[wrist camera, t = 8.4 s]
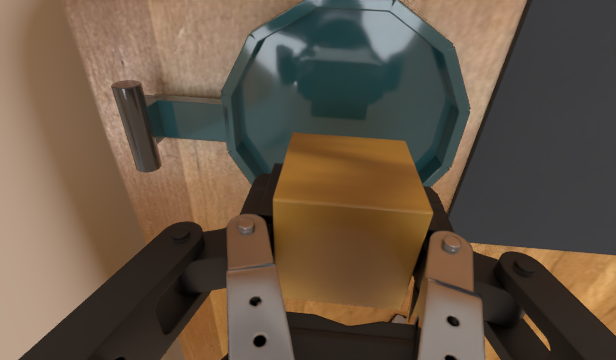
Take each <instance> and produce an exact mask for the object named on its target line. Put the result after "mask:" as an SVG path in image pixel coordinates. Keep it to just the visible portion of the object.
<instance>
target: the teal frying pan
mask: <svg viewBox="0 0 616 360" xmlns="http://www.w3.org/2000/svg"><path fill="white" fill-rule="evenodd" d="M111 87H112V91H113V94H114V97H115V100H116V103H117V107H118V110H119V113H120V116H121V120H122V123H123V126H124V129H125V133H126V136H127V139H128V142H129V145H130V149H131V152H132V155H133V158H134V162H135V165H136V168H137V170H138V171H140V172H152V171H155V170H158V169H159V168H160V167H161V166H162V162H161V158H160V154H159V150H158V146H157V144H158V143H159V142H161V141H162V140H163V139H164V138H165V137H168V138H181V139H194V140H208V141H221V142H226V144H227V150H228V153H229V155H230V156H231V157H232V159H233V160H234V161H235V163H236V164H237V166H238V167H239V168H240V170H241V171H242V172H243V174H244V175H245V177H246V178H247V179H248V181H249V182H250V184H251V185H252V184H253V181H254V179H255V178H256V177H257V176H259V175H260V174H261V173H271V172H272V169H273V166H274V163H284V159H285V156H286V153H287V149H288V146H289V143H290V139H291V136H292V133H294V132H295V133H309V134H322V135H335V136H348V137H362V138H375V139H388V140H401V141H405V142H406V144H407V147H408V149H409V152H410V154H411V157H412V159H413V162H414V164H415V167H416V170H417V172H418V175H419V177H420V180H421V182H422V185H423V186H427V187H431V186H432V185H433V184H434V183H435V182H437V181H438V180H439V179H440V178H441V177H442V176H443V175H444V174H445V173H446V172H447V171H449V168H451V166H452V163H453V160H454V158H455V155H456V152H457V149H458V146H459V143H460V140H461V137H462V135H463V132H464V129H465V126H466V123H467V120H468V117H469V114H470V111H469V110H470V109H471V108H470V104H469V100H468V97H467V93H466V89H465V85H464V81H463V77H462V73H461V69H460V65H459V61H458V58H457V54H456V50H455V47H454V46H453V43H451V42H450V41H449V40H448V39H446V38H445V37H444V36H443V35H441V34H440V33H439V32H438V31H437V30H435V29H434V28H433V27H432V26H430V25H429V24H428V23H427V22H425V21H424V20H423V19H422V18H420V17H419V16H418V15H417V14H415V13H414V12H413V11H412V10H411V9H409V8H408V7H407V6H406V5H404V4H403V3H402V2H401V1H399V0H302V1H300V2H299V3H297V4H295V5H294V6H292V7H291V8H289V9H287V10H286V11H284V12H282V13H281V14H279V15H277V16H276V17H274V18H272V19H271V20H269V21H267V22H266V23H264V24H262V25H261V26H259V27H257V28H256V29H254V30H253V31H252V32H251V33H250V34H249V35H248V37H247V39H246V41H245V43H244V45H243V47H242V49H241V51H240V54H239V56H238V58H237V60H236V62H235V64H234V66H233V68H232V70H231V72H230V74H229V76H228V79H227V81H226V83H225V85H224V87H223V89H222V91H221V93H222V94H221V99H215V98H201V97H186V96H172V95H157V94H155V95H154V96H153V95H144V91H143V87H142V84H141V82H139V81H133V80H127V81H120V82H116V83H114V84H112V86H111Z"/></svg>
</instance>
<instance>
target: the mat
mask: <svg viewBox="0 0 616 360" xmlns="http://www.w3.org/2000/svg"><path fill="white" fill-rule="evenodd" d="M447 216H448V219H449V221H450V223H451V225H452V227H453V230H454V232H455V233H456V234H458V235H460V236H462V237H463V238H465V239H466V240H467V241H468V242H469V243H480V244H492V245H503V246H515V247H527V248H538V249H550V250H561V251H573V252H584V253H596V254H607V255H616V0H528V2H527V5H526V8H525V10H524V13H523V16H522V18H521V21H520V23H519V26H518V29H517V31H516V34H515V37H514V39H513V42H512V45H511V47H510V50H509V53H508V55H507V58H506V61H505V63H504V66H503V68H502V71H501V74H500V76H499V79H498V82H497V84H496V87H495V90H494V92H493V95H492V98H491V100H490V103H489V106H488V108H487V111H486V113H485V116H484V119H483V121H482V124H481V127H480V129H479V132H478V135H477V137H476V140H475V143H474V145H473V148H472V151H471V153H470V156H469V158H468V161H467V164H466V166H465V169H464V172H463V174H462V177H461V180H460V182H459V185H458V188H457V190H456V193H455V196H454V198H453V201H452V203H451V206H450V209H449V211H448V214H447Z"/></svg>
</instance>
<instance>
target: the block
mask: <svg viewBox="0 0 616 360" xmlns="http://www.w3.org/2000/svg"><path fill="white" fill-rule="evenodd" d="M432 216H433V210H432V208H431V205H430V202H429V200H428V197H427V195H426V192H425V190H424V187H423V185H422V182H421V180H420V177H419V175H418V172H417V170H416V167H415V164H414V162H413V159H412V157H411V154H410V152H409V149H408V147H407V144H406V142H405V141H401V140H388V139H375V138H362V137H348V136H335V135H322V134H309V133H295V132H294V133H292V136H291V139H290V143H289V146H288V149H287V153H286V156H285V159H284V163H283V166H282V170H281V173H280V176H279V180H278V183H277V186H276V190H275V193H274V197H273V233H274V262H275V263H276V266H277V271H278V276H279V281H280V286H281V291H282V296H283V298H286V299H295V300H305V301H315V302H325V303H335V304H345V305H355V306H365V307H375V308H385V309H395V310H399V309H401V306H402V303H403V300H404V297H405V294H406V291H407V289H408V286H409V283H410V280H411V277H412V274H413V271H414V268H415V265H416V262H417V260H418V257H419V254H420V251H421V248H422V245H423V242H424V239H425V236H426V233H427V231H428V228H429V225H430V222H431V219H432Z"/></svg>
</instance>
